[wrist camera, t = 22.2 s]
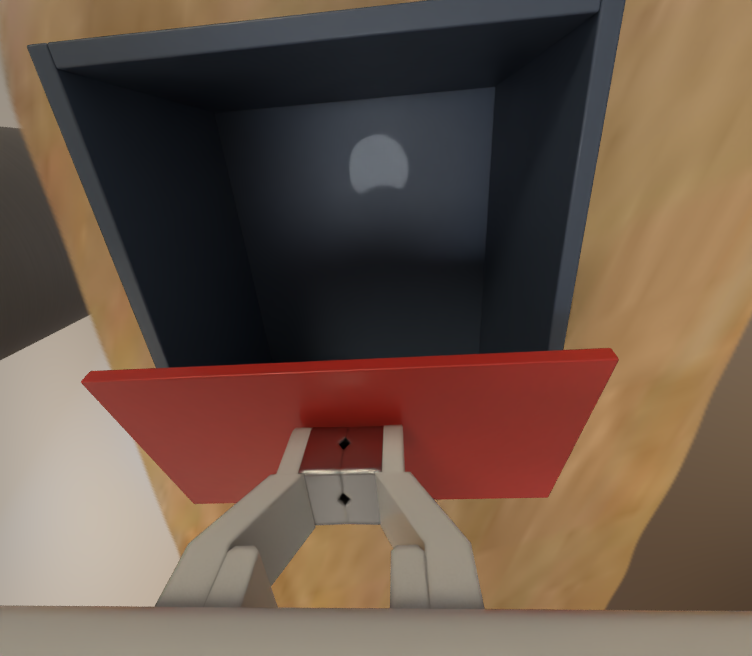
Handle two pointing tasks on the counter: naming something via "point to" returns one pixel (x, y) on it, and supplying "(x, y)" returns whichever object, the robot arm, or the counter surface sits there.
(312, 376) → the lid
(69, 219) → the counter surface
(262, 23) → the carton
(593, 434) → the counter surface
